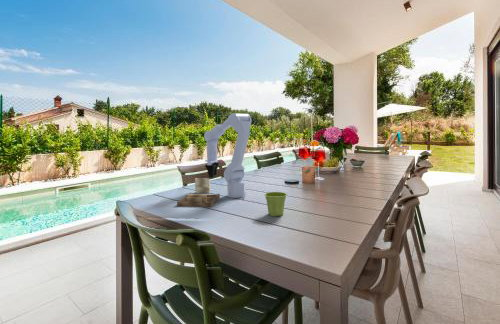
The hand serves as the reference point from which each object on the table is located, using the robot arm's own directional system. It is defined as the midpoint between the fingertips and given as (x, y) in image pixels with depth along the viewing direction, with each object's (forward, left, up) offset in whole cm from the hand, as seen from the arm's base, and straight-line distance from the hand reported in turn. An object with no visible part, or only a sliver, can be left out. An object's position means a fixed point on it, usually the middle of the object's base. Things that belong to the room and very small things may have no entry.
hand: (212, 176), depth 161 cm
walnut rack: (+1, +25, -9) cm, 26 cm away
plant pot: (-36, +40, -10) cm, 55 cm away
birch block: (+5, +5, -9) cm, 12 cm away
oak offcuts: (+1, +30, -8) cm, 31 cm away
